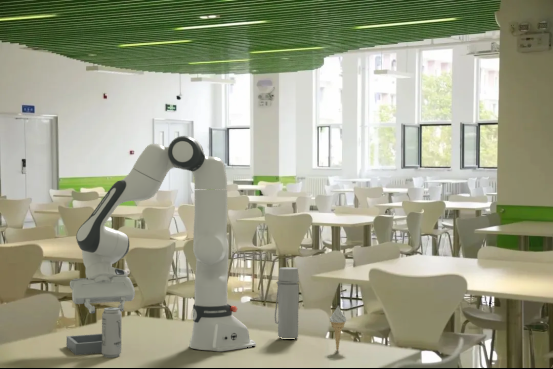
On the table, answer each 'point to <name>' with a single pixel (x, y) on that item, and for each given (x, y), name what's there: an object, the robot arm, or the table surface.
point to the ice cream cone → (337, 324)
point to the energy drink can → (111, 332)
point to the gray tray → (85, 344)
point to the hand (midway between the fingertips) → (107, 311)
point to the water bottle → (287, 302)
